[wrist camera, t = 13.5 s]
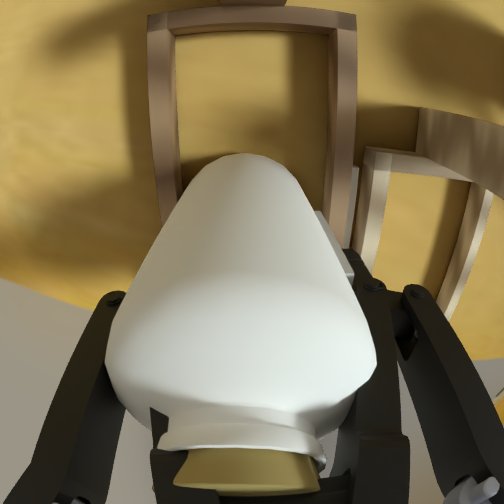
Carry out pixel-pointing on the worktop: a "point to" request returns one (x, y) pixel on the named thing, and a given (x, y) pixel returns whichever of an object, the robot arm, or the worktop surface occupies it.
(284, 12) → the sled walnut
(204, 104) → the worktop surface
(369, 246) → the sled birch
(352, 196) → the lane divider
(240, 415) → the potion bottle
